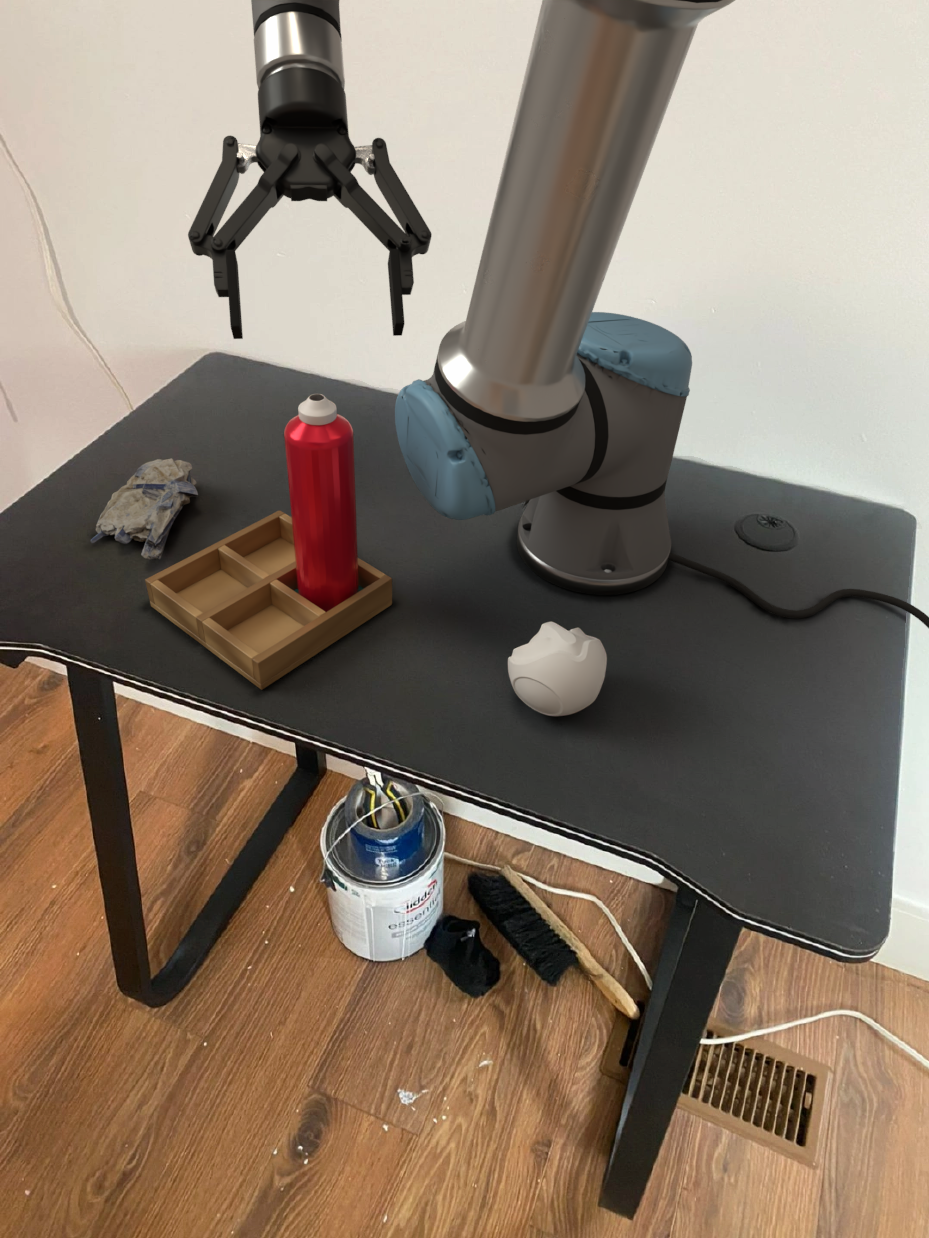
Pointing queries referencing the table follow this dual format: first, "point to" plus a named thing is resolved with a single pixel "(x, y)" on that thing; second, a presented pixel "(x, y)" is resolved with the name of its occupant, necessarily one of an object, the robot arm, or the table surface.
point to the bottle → (323, 502)
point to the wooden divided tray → (259, 601)
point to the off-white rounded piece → (558, 670)
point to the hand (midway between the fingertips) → (318, 331)
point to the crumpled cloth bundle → (148, 505)
